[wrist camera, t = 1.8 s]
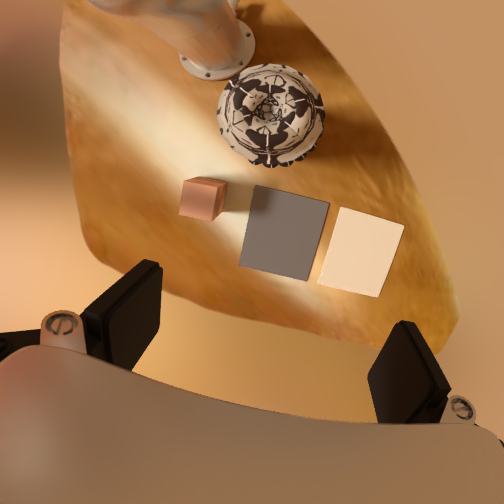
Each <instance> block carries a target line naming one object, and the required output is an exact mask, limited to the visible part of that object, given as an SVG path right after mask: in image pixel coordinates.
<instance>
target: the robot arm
mask: <svg viewBox="0 0 504 504" xmlns="http://www.w3.org/2000/svg"><path fill="white" fill-rule="evenodd" d="M86 1H87V2H88V3H90V4H91V5H92V6H94V7H96V8H98V9H100V10H101V11H104V12H106V13H109V14H112V15H115V16H118V17H122V18H125V19H129V20H132V21H135V22H137V23H139V24H141V25H143V26H144V27H146V28H147V29H149V30H150V31H152V32H153V33H154V34H156V35H157V36H158V37H160V38H161V39H162V40H164V41H165V42H166V43H168V44H169V45H170V46H171V47H173V48H174V49H175V50H176V51H178V52H179V57H180V61H181V63H182V65H183V67H184V68H185V69H186V70H187V72H189V73H190V74H191V75H193V76H195V77H196V78H199V79H202V80H207V81H219V80H224V79H227V78H230V77H232V76H234V75H236V74H238V73H239V72H241V71H242V70H243V69H244V68H245V67H246V66H247V65H248V64H249V63H250V61H251V59H252V58H253V55H254V52H255V46H256V44H255V38H254V35H253V33H252V31H251V29H250V28H249V27H248V25H247V24H245V23H244V22H243V21H241V20H239V19H237V18H236V16H237V13H236V12H235V11H236V8H237V6H238V3H239V0H86ZM247 36H249V37H247ZM185 59H187V60H185ZM241 63H242V64H243V65H240V64H241ZM209 75H211V76H210V77H208V76H209ZM162 277H163V268H162V267H159V263H158V262H154V261H151V260H147V259H144V260H142V261H141V262H140V263H139V264H137V265H136V266H135V267H134V268H132V269H131V270H130V271H129V272H128V273H126V274H125V275H124V276H123V277H122V278H121V279H119V280H118V281H117V282H116V283H115V284H113V285H112V286H111V287H110V288H109V289H107V290H106V291H105V292H104V293H103V294H102V295H100V296H99V297H98V298H97V299H96V300H95V301H93V302H92V303H91V304H90V305H89V306H88V307H87V308H86V309H85V310H84V312H82V313H81V314H80V315H78V314H76V313H74V312H71V311H67V310H66V311H65V310H60V311H55V312H52V313H50V314H48V315H47V316H45V318H44V319H43V320H42V323H41V329H36V330H26V331H16V332H5V333H0V504H504V443H503V442H502V441H501V440H500V439H498V438H497V436H496V435H495V434H494V433H492V432H491V431H489V430H487V429H485V428H482V427H480V426H478V425H477V424H475V419H476V411H475V408H474V407H473V405H472V404H471V402H470V401H469V400H467V399H466V398H464V397H462V396H459V395H454V396H451V397H450V398H449V399H448V397H447V395H448V393H449V392H450V391H451V387H450V385H449V383H448V381H447V379H446V377H445V375H444V374H443V372H442V370H441V368H440V366H439V364H438V362H437V361H436V359H435V357H434V355H433V353H432V352H431V350H430V348H429V346H428V345H427V343H426V341H425V339H424V338H423V336H422V334H421V333H420V331H419V329H418V328H417V326H416V324H415V323H414V322H409V321H404V320H401V321H400V322H399V323H396V324H395V325H394V327H393V329H392V331H391V333H390V335H389V337H388V339H387V341H386V342H385V344H384V346H383V348H382V350H381V352H380V353H379V355H378V357H377V359H376V360H375V362H374V364H373V365H372V368H371V369H370V371H369V373H368V378H367V379H368V383H369V387H370V391H371V395H372V399H373V404H374V408H375V412H376V416H377V421H378V423H365V422H349V421H339V420H329V419H320V418H312V417H305V416H298V415H291V414H285V413H279V412H274V411H269V410H263V409H258V408H254V407H249V406H244V405H240V404H235V403H231V402H227V401H223V400H219V399H215V398H212V397H208V396H204V395H201V394H197V393H193V392H190V391H187V390H184V389H181V388H177V387H174V386H171V385H168V384H165V383H162V382H159V381H156V380H154V379H151V378H148V377H145V376H143V375H140V374H137V373H135V372H132V369H133V368H134V366H135V365H136V363H137V362H138V360H139V359H140V357H141V356H142V354H143V353H144V351H145V349H146V348H147V347H148V345H149V344H150V342H151V341H152V340H153V338H154V336H155V335H156V334H157V332H158V330H159V325H160V309H161V291H162Z"/></svg>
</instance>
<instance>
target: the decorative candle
mask: <svg viewBox="0 0 504 504" xmlns="http://www.w3.org/2000/svg"><path fill="white" fill-rule="evenodd" d="M324 118H325V110H324V106H323V102H322V99H321V95H320V92H319V91H318V89H317V88H316V87H315V86H314V84H313V83H312V82H311V81H310V80H309V78H308V77H307V76H306V75H304V74H302V73H300V72H298V71H297V70H295V69H293V68H291V67H289V66H285V65H277V64H269V63H266V64H262V65H258V66H254V67H250V68H246V69H245V70H244V71H242V72H241V73H239V74H238V75H236V76H235V77H234V78H232V79H231V80H230V81H229V83H228V84H227V86H226V87H225V89H224V91H223V92H222V94H221V95H220V97H219V104H218V110H217V120H218V123H219V127H220V131H221V135H222V136H223V138H224V139H225V140H226V141H227V143H228V144H229V145H230V146H231V148H232V149H233V150H234V151H235V152H237V153H238V154H240V155H242V156H244V157H245V158H247V159H248V160H249V162H250V163H252V164H254V165H258V164H260V163H263V165H264V166H266V167H268V168H274V167H276V166H277V165H280V166H283V167H287V166H290V165H291V164H292V163H293V161H294V160H295V161H301V160H303V159H304V158H305V157H306V155H307V152H306V151H309V152H311V151H313V150H314V149H315V148H316V145H317V142H316V140H317V139H318V138H320V137H321V136H322V132H323V130H324V125H323V121H324Z"/></svg>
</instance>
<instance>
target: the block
mask: <svg viewBox="0 0 504 504" xmlns="http://www.w3.org/2000/svg"><path fill="white" fill-rule="evenodd" d="M227 184H228V182H224V181H219V180H214V179H209V178H204V177H195V178H192V179H188V180H185V181H184V183H183V190H182V196H181V203H180V210H179V215H184V216H188V217H193V218H197V219H202V220H206V221H210V222H212V221H213V220H214V219H215V218H216V217H217V216H218V215H219V214H220V213H221V212H222V211H223V205H224V200H225V194H226V189H227Z"/></svg>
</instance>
